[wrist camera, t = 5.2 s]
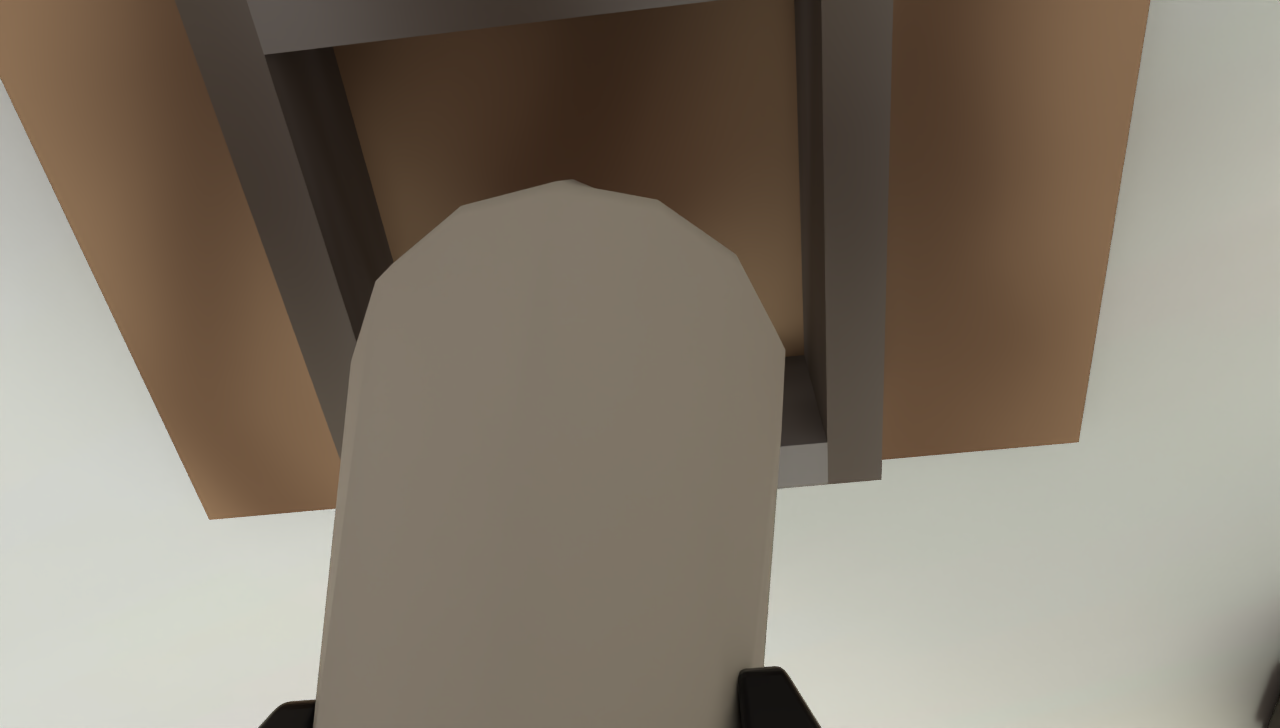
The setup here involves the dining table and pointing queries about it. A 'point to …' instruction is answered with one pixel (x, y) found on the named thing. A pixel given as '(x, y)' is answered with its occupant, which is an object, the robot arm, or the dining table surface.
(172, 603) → the dining table surface
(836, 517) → the dining table surface
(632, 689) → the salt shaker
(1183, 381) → the dining table surface
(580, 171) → the brown tray
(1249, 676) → the dining table surface
